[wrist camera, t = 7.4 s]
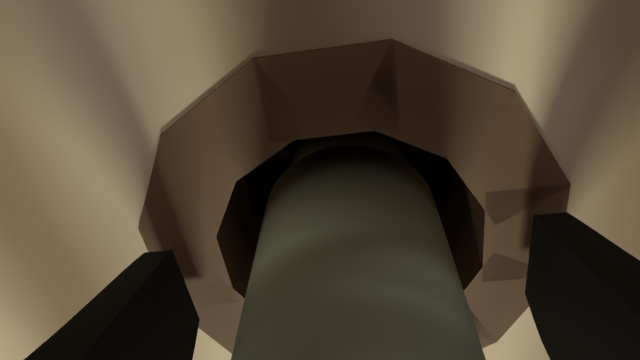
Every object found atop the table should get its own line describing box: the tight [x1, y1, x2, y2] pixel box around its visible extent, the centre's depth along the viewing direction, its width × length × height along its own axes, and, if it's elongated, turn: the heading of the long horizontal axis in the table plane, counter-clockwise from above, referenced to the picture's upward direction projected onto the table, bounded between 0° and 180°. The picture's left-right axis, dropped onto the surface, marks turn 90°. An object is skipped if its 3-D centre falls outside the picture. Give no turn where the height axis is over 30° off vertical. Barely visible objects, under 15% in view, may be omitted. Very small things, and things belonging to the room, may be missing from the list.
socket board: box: [0, 0, 640, 360], centre depth 11 cm, size 20×12×3 cm, turn 98°
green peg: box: [231, 131, 486, 360], centre depth 9 cm, size 4×4×8 cm
